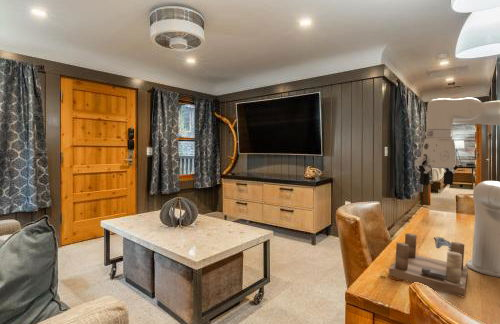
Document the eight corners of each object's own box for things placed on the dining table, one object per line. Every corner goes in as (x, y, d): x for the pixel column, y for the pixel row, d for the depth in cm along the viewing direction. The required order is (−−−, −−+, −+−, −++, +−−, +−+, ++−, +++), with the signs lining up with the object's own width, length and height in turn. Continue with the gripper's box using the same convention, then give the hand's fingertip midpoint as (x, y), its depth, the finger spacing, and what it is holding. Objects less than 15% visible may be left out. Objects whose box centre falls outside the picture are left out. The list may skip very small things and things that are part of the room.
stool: (402, 258, 109) (403, 231, 109) (467, 273, 97) (469, 243, 96) (388, 275, 94) (390, 244, 93) (464, 297, 81) (466, 261, 81)
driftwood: (433, 238, 137) (433, 233, 136) (450, 240, 133) (450, 236, 133) (435, 252, 119) (435, 247, 119) (455, 255, 115) (455, 250, 115)
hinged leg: (420, 273, 89) (422, 249, 88) (422, 270, 92) (423, 245, 91) (460, 283, 83) (462, 257, 83) (460, 279, 86) (462, 253, 85)
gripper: (425, 134, 92) (423, 186, 93) (469, 135, 96) (466, 185, 97) (408, 135, 100) (406, 183, 101) (450, 136, 103) (447, 182, 104)
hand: (436, 184), depth 99 cm, fingers open, 9 cm apart
